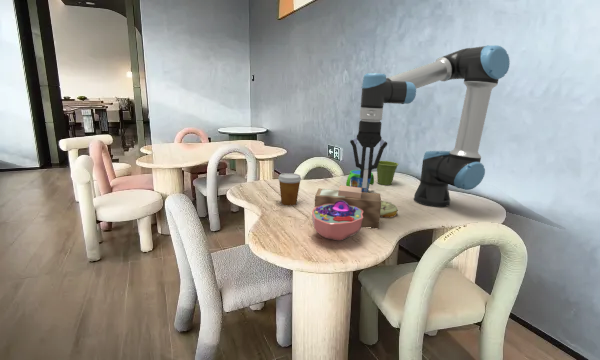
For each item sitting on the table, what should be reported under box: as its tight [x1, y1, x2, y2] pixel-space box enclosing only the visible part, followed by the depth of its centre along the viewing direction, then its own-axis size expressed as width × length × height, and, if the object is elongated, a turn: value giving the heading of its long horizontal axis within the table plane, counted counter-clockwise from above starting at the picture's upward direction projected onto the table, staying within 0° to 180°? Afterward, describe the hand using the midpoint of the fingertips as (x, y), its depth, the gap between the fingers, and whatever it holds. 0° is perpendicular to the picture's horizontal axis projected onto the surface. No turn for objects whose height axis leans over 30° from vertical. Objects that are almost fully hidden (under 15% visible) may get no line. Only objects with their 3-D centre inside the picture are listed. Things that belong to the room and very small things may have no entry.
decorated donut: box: [380, 200, 399, 218], centre depth 139 cm, size 11×12×4 cm
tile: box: [338, 185, 361, 199], centre depth 126 cm, size 2×7×8 cm
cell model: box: [311, 201, 363, 242], centre depth 114 cm, size 17×20×11 cm
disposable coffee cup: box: [277, 172, 302, 207], centre depth 145 cm, size 10×10×12 cm
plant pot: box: [376, 160, 399, 186], centre depth 183 cm, size 12×12×11 cm
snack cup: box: [345, 169, 375, 193], centre depth 164 cm, size 16×10×10 cm
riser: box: [314, 188, 382, 229], centre depth 128 cm, size 23×10×10 cm, turn 80°
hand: (364, 187), depth 125 cm, fingers closed
